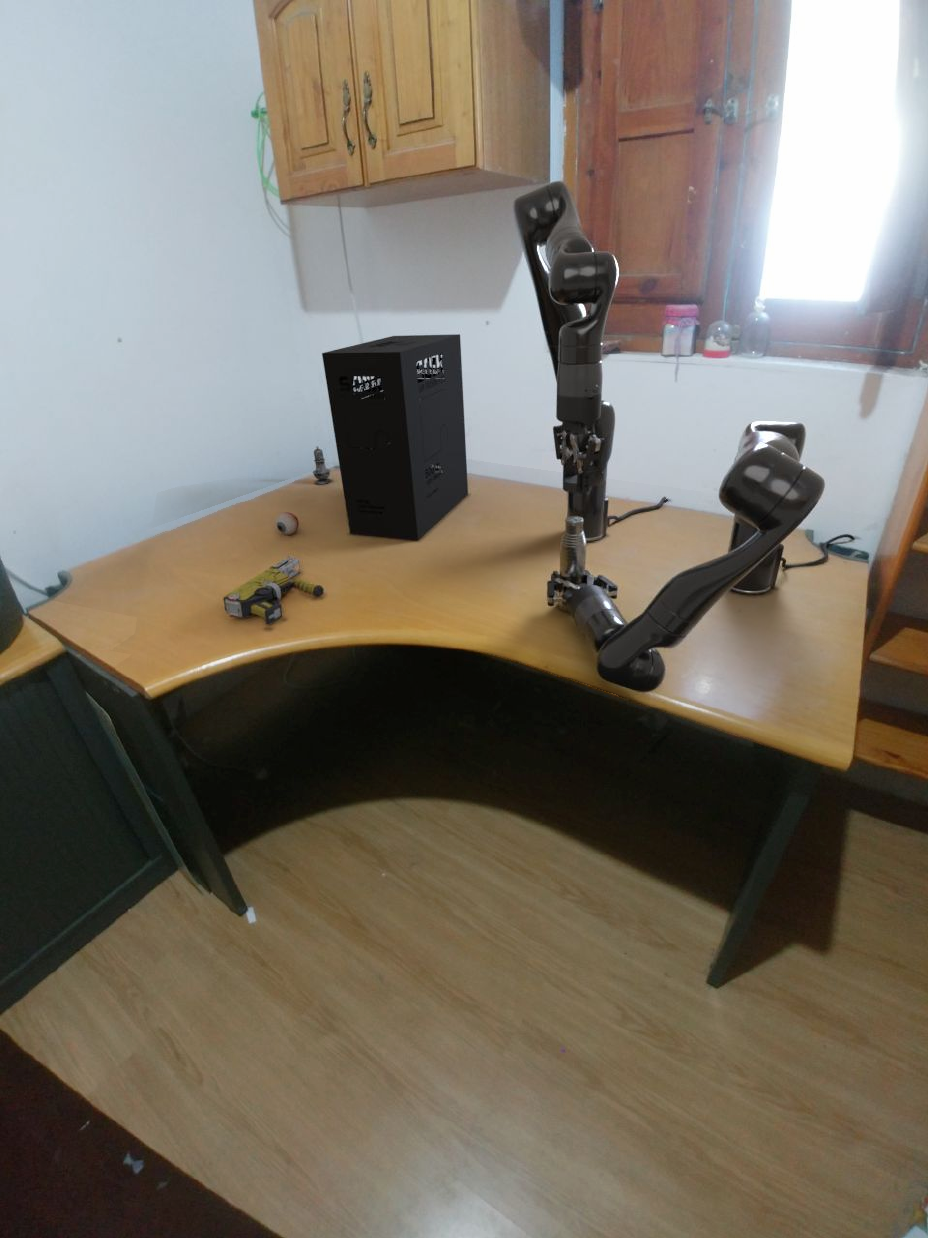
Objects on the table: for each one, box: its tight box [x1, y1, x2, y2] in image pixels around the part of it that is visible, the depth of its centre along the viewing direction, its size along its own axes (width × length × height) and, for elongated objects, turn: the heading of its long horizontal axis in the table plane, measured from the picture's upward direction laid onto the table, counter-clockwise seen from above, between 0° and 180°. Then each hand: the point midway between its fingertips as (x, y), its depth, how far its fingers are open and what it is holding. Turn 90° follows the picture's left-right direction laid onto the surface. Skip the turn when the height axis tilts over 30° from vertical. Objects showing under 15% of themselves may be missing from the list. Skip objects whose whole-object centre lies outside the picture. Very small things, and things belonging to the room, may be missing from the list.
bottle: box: [558, 516, 587, 612], centre depth 118 cm, size 5×5×19 cm
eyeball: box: [275, 511, 300, 536], centre depth 163 cm, size 6×6×6 cm
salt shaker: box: [312, 446, 332, 485], centre depth 203 cm, size 6×6×12 cm
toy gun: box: [222, 556, 324, 626], centre depth 131 cm, size 5×24×15 cm
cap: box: [562, 476, 578, 493], centre depth 110 cm, size 5×5×2 cm
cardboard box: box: [321, 333, 469, 541], centre depth 164 cm, size 38×20×45 cm, turn 159°
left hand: (575, 488), depth 110 cm, fingers closed on cap, 4 cm apart
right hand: (567, 573), depth 122 cm, fingers closed on bottle, 5 cm apart
